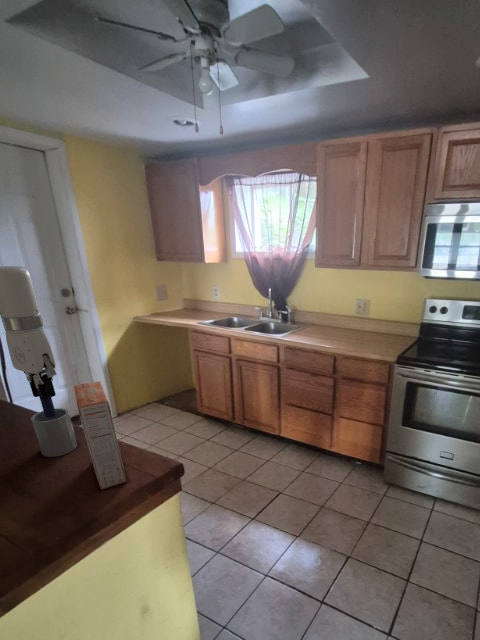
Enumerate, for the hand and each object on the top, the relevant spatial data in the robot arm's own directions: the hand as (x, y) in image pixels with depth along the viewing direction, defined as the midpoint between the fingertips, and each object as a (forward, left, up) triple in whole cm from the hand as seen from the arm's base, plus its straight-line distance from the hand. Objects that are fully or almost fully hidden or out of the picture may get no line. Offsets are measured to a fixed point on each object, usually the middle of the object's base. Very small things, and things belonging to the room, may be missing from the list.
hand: (44, 395), depth 93 cm
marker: (0, 0, -6) cm, 6 cm away
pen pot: (0, 0, -15) cm, 15 cm away
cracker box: (+18, -11, -16) cm, 26 cm away
